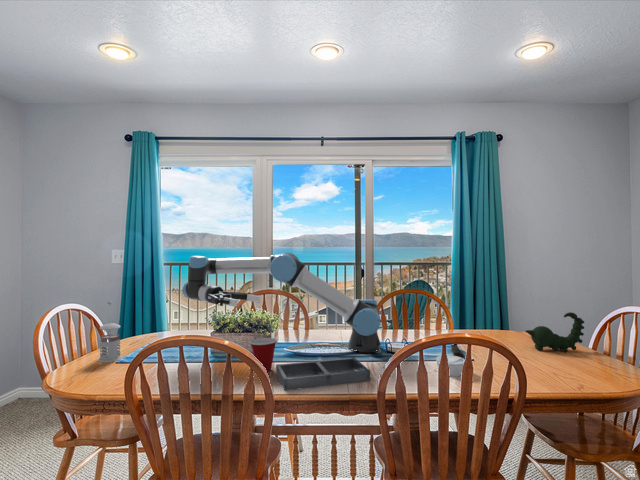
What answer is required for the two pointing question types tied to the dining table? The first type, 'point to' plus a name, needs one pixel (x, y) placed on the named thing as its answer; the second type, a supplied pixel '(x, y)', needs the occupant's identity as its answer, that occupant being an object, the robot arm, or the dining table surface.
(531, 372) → the dining table surface
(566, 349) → the toy figurine
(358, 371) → the tray
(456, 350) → the hand tool
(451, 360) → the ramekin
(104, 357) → the french press
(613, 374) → the dining table surface
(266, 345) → the plastic cup
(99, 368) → the dining table surface
